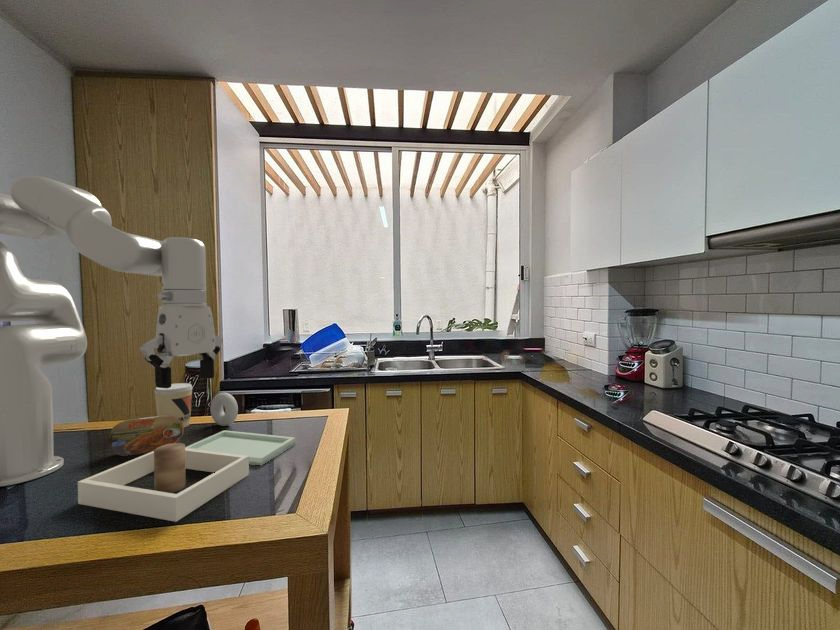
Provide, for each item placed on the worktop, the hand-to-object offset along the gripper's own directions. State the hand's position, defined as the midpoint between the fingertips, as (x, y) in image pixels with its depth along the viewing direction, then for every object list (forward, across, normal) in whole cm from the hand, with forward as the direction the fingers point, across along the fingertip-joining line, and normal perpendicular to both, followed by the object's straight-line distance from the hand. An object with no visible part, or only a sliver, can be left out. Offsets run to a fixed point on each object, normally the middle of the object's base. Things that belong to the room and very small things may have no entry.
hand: (186, 382), depth 73 cm
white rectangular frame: (+20, -4, 0) cm, 20 cm away
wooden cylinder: (+20, -4, 0) cm, 20 cm away
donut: (+20, +28, +20) cm, 40 cm away
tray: (+20, +15, +1) cm, 25 cm away
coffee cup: (+20, +24, +33) cm, 46 cm away
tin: (+20, +8, +23) cm, 31 cm away
